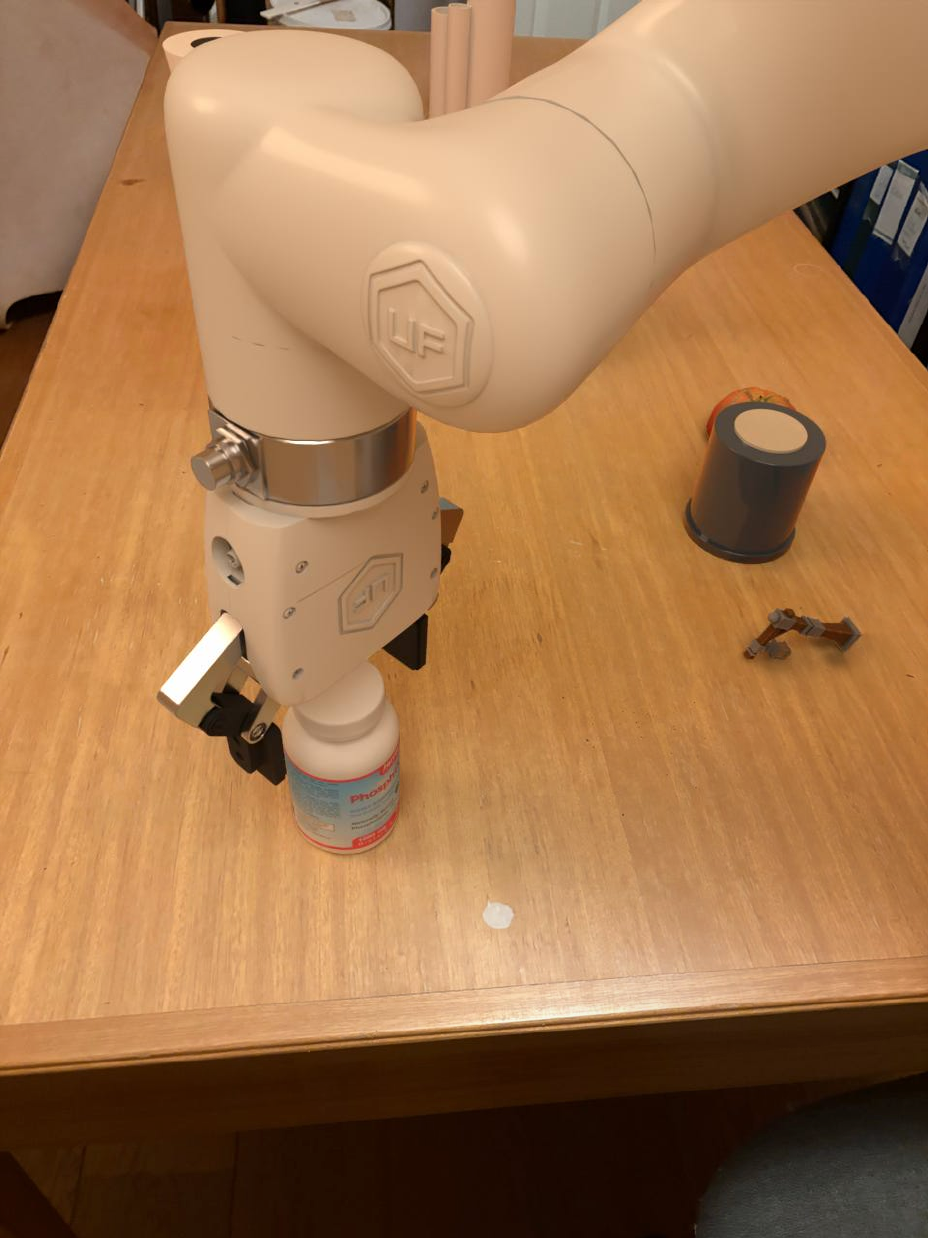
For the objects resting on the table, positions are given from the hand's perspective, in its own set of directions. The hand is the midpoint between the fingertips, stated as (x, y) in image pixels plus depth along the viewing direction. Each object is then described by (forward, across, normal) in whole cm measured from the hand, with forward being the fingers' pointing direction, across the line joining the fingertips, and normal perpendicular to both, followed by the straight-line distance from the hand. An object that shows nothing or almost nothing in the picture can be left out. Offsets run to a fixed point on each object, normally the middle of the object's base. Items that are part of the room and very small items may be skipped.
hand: (334, 707), depth 47 cm
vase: (+10, +90, +68) cm, 113 cm away
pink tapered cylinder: (+10, +47, +66) cm, 81 cm away
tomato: (+10, +50, 0) cm, 51 cm away
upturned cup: (+9, +39, -4) cm, 40 cm away
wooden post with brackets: (+9, +30, -14) cm, 35 cm away
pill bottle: (+10, 0, 0) cm, 10 cm away
